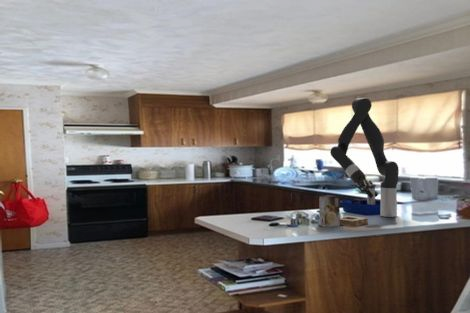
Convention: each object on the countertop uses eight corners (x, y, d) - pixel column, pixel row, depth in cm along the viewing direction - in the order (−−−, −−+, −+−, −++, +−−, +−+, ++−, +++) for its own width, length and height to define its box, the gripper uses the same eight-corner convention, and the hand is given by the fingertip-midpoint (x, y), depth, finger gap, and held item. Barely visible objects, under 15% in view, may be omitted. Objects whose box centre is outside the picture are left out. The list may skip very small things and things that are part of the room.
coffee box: (334, 224, 250) (334, 194, 249) (340, 226, 244) (340, 196, 243) (318, 225, 247) (318, 195, 247) (324, 227, 241) (324, 196, 241)
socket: (346, 220, 261) (346, 215, 261) (367, 223, 251) (367, 218, 251) (331, 223, 252) (331, 218, 252) (353, 226, 241) (353, 221, 241)
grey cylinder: (369, 203, 258) (369, 184, 258) (377, 204, 255) (377, 184, 254) (364, 204, 255) (364, 184, 255) (372, 205, 251) (372, 185, 251)
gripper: (352, 169, 255) (371, 193, 246) (366, 168, 265) (385, 190, 256) (344, 179, 259) (363, 202, 251) (358, 177, 269) (377, 199, 260)
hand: (374, 196), depth 253 cm, fingers closed on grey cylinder, 4 cm apart
